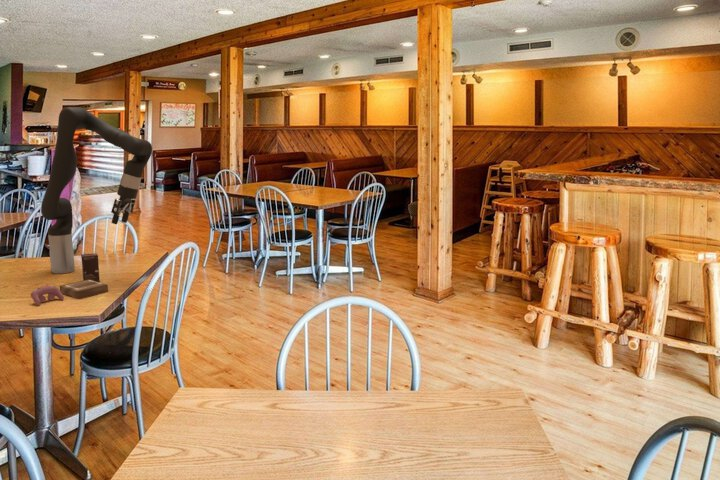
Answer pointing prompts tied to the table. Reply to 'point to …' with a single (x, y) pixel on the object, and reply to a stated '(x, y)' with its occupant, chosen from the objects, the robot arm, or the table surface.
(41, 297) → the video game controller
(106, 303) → the table surface
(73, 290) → the base board
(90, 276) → the box
